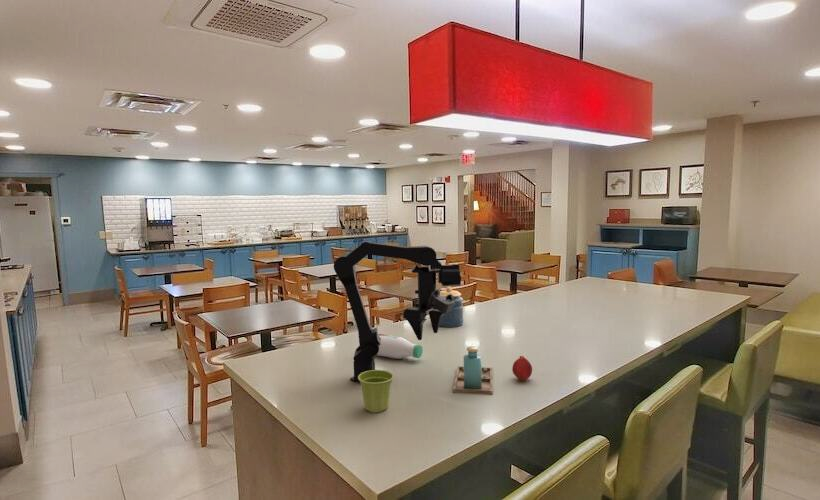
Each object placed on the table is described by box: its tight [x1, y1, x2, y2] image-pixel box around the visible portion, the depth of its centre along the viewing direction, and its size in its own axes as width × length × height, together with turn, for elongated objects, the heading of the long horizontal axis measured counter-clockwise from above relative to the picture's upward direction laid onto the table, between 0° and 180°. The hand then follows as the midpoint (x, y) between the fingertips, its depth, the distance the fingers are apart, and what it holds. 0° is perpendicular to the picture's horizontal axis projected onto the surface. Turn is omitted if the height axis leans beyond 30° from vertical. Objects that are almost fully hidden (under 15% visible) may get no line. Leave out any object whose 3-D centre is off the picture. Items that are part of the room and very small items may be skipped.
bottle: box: [463, 345, 483, 390], centre depth 128 cm, size 5×5×12 cm
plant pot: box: [358, 369, 395, 413], centre depth 116 cm, size 9×9×9 cm
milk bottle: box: [376, 333, 424, 360], centre depth 157 cm, size 8×8×20 cm
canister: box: [439, 286, 464, 328], centre depth 203 cm, size 13×13×18 cm
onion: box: [511, 354, 533, 381], centre depth 133 cm, size 6×6×8 cm
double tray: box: [452, 365, 494, 395], centre depth 133 cm, size 19×11×2 cm, turn 170°
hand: (427, 336), depth 137 cm, fingers open, 9 cm apart
